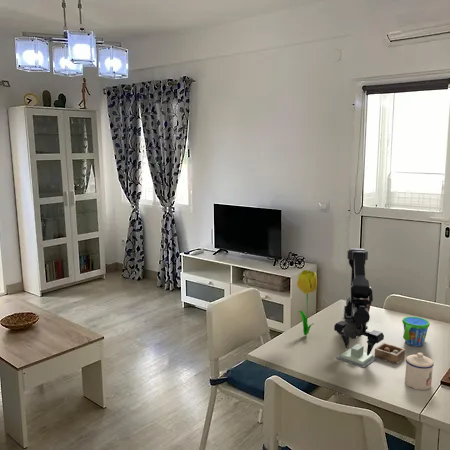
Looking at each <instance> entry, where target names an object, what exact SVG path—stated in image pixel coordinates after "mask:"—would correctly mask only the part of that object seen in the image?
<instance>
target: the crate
mask: <svg viewBox="0 0 450 450" xmlns="http://www.w3.org/2000/svg"><path fill="white" fill-rule="evenodd" d="M374 356H375V357H378V358H377V359H380V360H383V361H386V362H389V363H392V364H395V365H397V364H398V363H399V362H401V361H402V360H404V358H405V359H406V348H403V347H400V346H397V345H393V344H389V343H387V342H382V343H381V344H379V345H378V346H377V347H375V348H374Z"/></svg>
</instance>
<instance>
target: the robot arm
mask: <svg viewBox="0 0 450 450" xmlns="http://www.w3.org/2000/svg"><path fill="white" fill-rule="evenodd" d="M346 259H347V260H348V265H349V266H350V269H351V270H350V287H349V297H348V298H347V299H346V301H345V305H343V306H344V307H343V319H344V320H340V321H338V322H336V323H335V324H334V326H333V330H334V331H335V332H336V333H337V334H339V335H340V336H341V338H342V340H343V344H344V347H345V349H347V350H348V349H349V344H350V339H352V340H355V339H357V337H359V338H361V337H362V336H364V337H367V341H366V343H367V348H366V353H367V356H368V355H369V354H371V352H372V350H373V348H374V347H375V345H376V344H378V343H380V342H382V341H383V340H384V339H385V335H384V333H383V332H382V331H379V330H376V329H373V330H372V331H368V328H369V327H368V326H367V323H368V322H369V321H370V318H371V315H370V311H369V312H368V308H367V304H368V305H372V302H373V300H374V297H373V289H372V287H371V286H370V281H369V280H368V279H367V278H366V268H365V267H366V266H365V265H366V261H368V259H369V252H368V251H367V250H365V248H359V247H358V248H354V247H351V248H349V249H348V250H347V251H346ZM366 299H368V300H366Z"/></svg>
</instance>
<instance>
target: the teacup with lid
mask: <svg viewBox="0 0 450 450" xmlns="http://www.w3.org/2000/svg"><path fill="white" fill-rule="evenodd" d="M405 362H406V364H405V378H404V380H405V381H404V382H405V384H406V385H407V386H408V387H410V388H413V389H414V390H420V391H426V390H428V389H430V388H431V387H432V379H433V368H434V362H433V360H432V359H431V358H430V357H428V356H425V355H424V354H423V352H417V354H410V355H408V356H407V357H405Z"/></svg>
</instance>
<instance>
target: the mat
mask: <svg viewBox="0 0 450 450" xmlns="http://www.w3.org/2000/svg"><path fill="white" fill-rule="evenodd" d="M346 351H347V350H346ZM346 351H344V352H346ZM344 352H342V353H341V354H343V353H344ZM341 354H340V355H338V356H336V359H339V360H341V361H342V362H343V361H344V362H346V363H350V364H352V365H354V366H355V365H356V366H357V367H361V368H363V369H365V368H367V367H368V366H369V365H370V364H372V363H374V362H375V361H376V360H378V359H379V358H378V357H375V355H373V358H372V359H370V360H369V361H367V362H366V363H365V364H363V365H362V364H359V363H356V362H354V361H351V360H348V359H345V358H342V357H341Z"/></svg>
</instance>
